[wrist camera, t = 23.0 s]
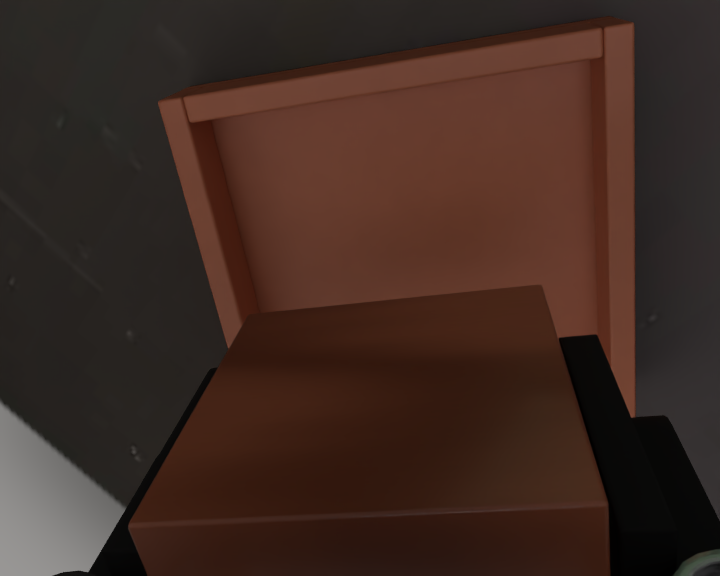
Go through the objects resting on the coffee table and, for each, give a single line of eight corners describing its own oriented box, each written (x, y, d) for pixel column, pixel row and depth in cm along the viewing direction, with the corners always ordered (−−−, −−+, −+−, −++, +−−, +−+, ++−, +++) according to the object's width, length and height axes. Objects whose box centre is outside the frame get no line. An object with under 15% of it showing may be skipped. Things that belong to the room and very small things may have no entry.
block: (305, 529, 12) (237, 801, 8) (247, 312, 11) (124, 526, 7) (557, 518, 12) (617, 811, 8) (541, 282, 10) (609, 502, 6)
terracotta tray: (276, 419, 21) (260, 464, 19) (187, 86, 17) (156, 101, 15) (617, 393, 19) (636, 439, 17) (611, 15, 15) (635, 21, 13)
